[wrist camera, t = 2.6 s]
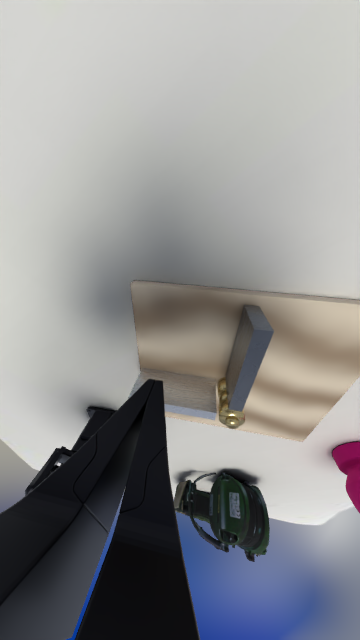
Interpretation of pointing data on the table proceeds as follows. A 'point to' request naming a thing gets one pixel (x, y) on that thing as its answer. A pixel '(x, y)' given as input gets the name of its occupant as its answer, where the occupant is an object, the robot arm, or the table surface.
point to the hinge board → (280, 358)
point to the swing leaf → (246, 356)
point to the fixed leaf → (192, 396)
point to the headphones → (227, 513)
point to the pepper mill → (350, 469)
